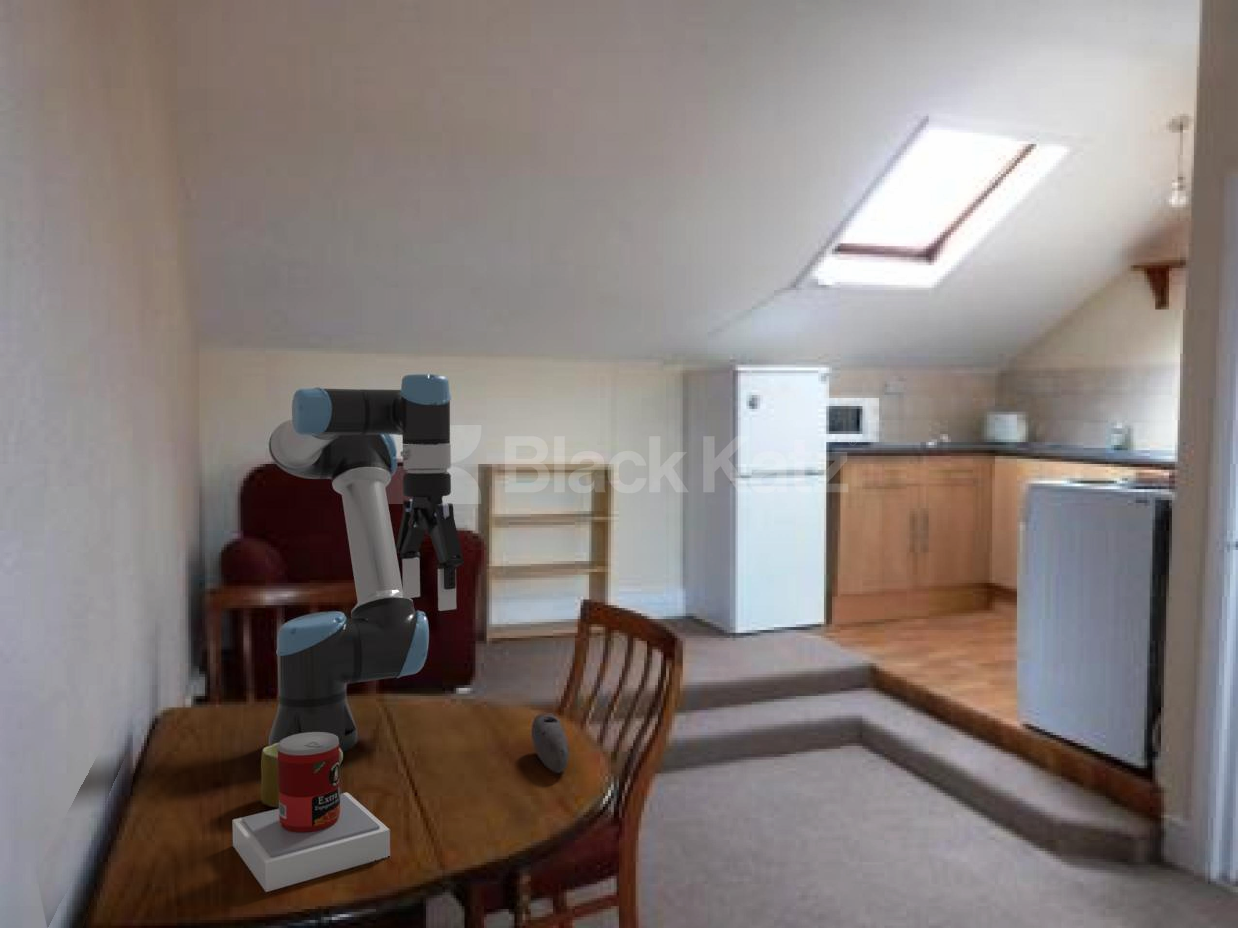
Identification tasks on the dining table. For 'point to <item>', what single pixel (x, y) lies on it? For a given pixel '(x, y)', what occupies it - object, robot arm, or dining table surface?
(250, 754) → the dining table surface
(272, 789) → the mug
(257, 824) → the tray
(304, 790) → the canned food
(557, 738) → the perforated stone tool
